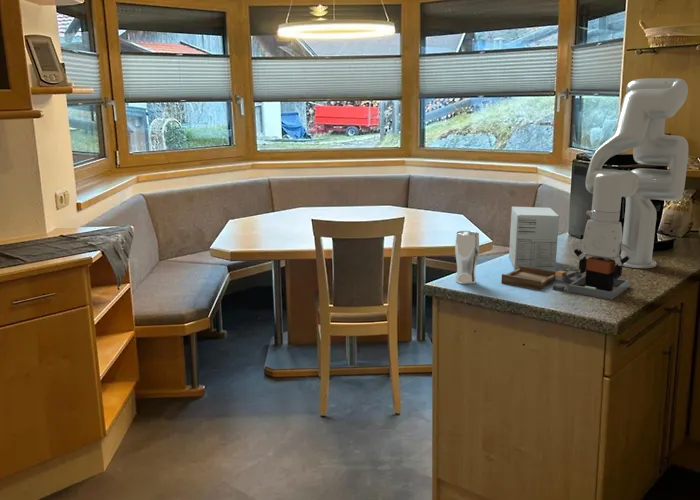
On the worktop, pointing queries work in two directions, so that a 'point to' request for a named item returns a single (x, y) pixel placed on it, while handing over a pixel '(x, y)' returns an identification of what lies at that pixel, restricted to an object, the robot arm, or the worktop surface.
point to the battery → (600, 273)
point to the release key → (565, 275)
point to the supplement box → (533, 238)
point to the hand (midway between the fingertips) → (599, 275)
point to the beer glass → (466, 256)
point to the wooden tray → (529, 278)
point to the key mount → (567, 280)
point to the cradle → (592, 291)
